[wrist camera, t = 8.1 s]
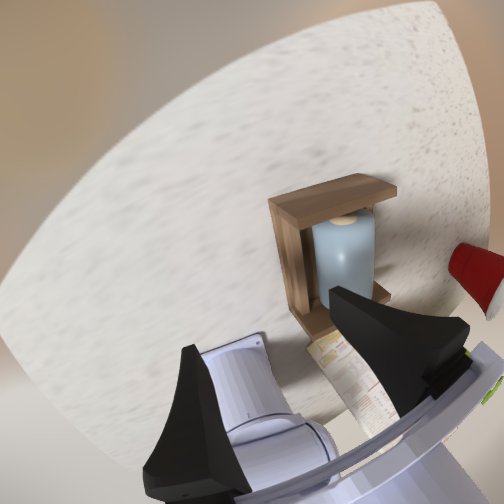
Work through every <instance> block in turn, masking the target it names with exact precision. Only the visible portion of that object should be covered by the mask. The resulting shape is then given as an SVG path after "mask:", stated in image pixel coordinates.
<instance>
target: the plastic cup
mask: <svg viewBox="0 0 504 504" xmlns="http://www.w3.org/2000/svg"><path fill="white" fill-rule="evenodd" d="M449 273H450V274H451V275H452V276H453V277H454V278H455V279H456V280H457V281H458V282H459V283H460V284H461V286H462V287H463V288H464V289H465V290H466V291H467V292H468V293H469V294H470V295H471V297H472V298H473V299H475V301H476V302H477V303H478V304H479V306H480V307H481V309H482V310H483V312H484V313H485V316H486V320H487V321H491V320H492V319H493V318H495V316H496V315H497V314H498V313H499V312H500V311H501V309H502V308H503V306H504V256H501V255H499V254H496V253H493V252H491V251H488V250H485V249H483V248H480V247H475V246H472V245H469V244H465V243H461V244H459V245H458V246H457V248H456V249H455V251H454V252H453V254H452V257H451V259H450V263H449Z"/></svg>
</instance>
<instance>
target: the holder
mask: <svg viewBox="0 0 504 504" xmlns="http://www.w3.org/2000/svg"><path fill="white" fill-rule="evenodd" d="M395 196H397V186H395V185H392V184H389V183H386V182H383V181H380V180H377V179H374V178H371V177H368V176H365V175H362V174H359V173H356V174H353V175H349V176H345V177H342V178H338V179H334V180H331V181H327V182H324V183H320V184H317V185H313V186H310V187H306V188H303V189H300V190H296V191H293V192H290V193H286V194H283V195H280V196H277V197H273V198H270V199H268V203H269V208H270V213H271V218H272V222H273V227H274V232H275V237H276V242H277V247H278V253H279V258H280V263H281V268H282V273H283V279H284V284H285V289H286V295H287V300H288V306H289V310H290V311H291V313H292V314H293V315H294V317H295V318H296V320H297V321H298V322H299V324H300V325H301V326H302V328H303V329H304V330H305V332H306V333H307V335H308V336H309V337H310V339H311V340H312V341H316V340H318V339H320V338H322V337H324V336H326V335H328V334H330V333H332V332H334V331H336V330H338V329H337V328H336V326H335V325H334V323H333V322H332V320H331V319H330V310H329V309H328V308H326V307H325V306H324V305H323V304H322V303H321V301H320V298H319V287H318V276H317V266H316V257H315V248H314V239H313V231H312V226H314V225H317V224H319V223H322V222H325V221H328V220H331V219H333V218H336V217H339V216H342V215H345V214H347V213H350V212H353V211H356V210H359V209H361V208H363V209H366V210H368V211H370V212H371V213H372V214H373V210H372V205H373V204H375V203H378V202H381V201H384V200H387V199H390V198H392V197H395ZM390 299H391V294H390V293H389V292H388V291H386V290H385V289H384V288H383V287H381V286H380V285H379V284H378V283H376V282H375V281H374V280H373V294H372V299H371V300H373V301H375V302H378V303H380V304H385V303H387V302H388V301H390Z"/></svg>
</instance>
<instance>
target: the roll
mask: <svg viewBox="0 0 504 504" xmlns="http://www.w3.org/2000/svg"><path fill="white" fill-rule="evenodd" d="M312 231H313V239H314V248H315V257H316V266H317V276H318V287H319V298H320V301H321V303H322V304H323V305H324V306H325V307H326V308H328V309H329V291H328V290H329V289H331V288H333V287H336V286H338V285H339V286H341V287H343V288H346V289H348V290H350V291H352V292H354V293H357V294H359V295H361V296H363V297H366V298H368V299H370V300H371V299H372V294H373V279H374V256H375V217H374V215H373V214H372V213H371V212H370V211H368V210H366V209H363V208H361V209H359V210H356V211H353V212H350V213H347V214H345V215H342V216H339V217H336V218H333V219H331V220H328V221H325V222H322V223H319V224H317V225H314V226H312Z"/></svg>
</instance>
